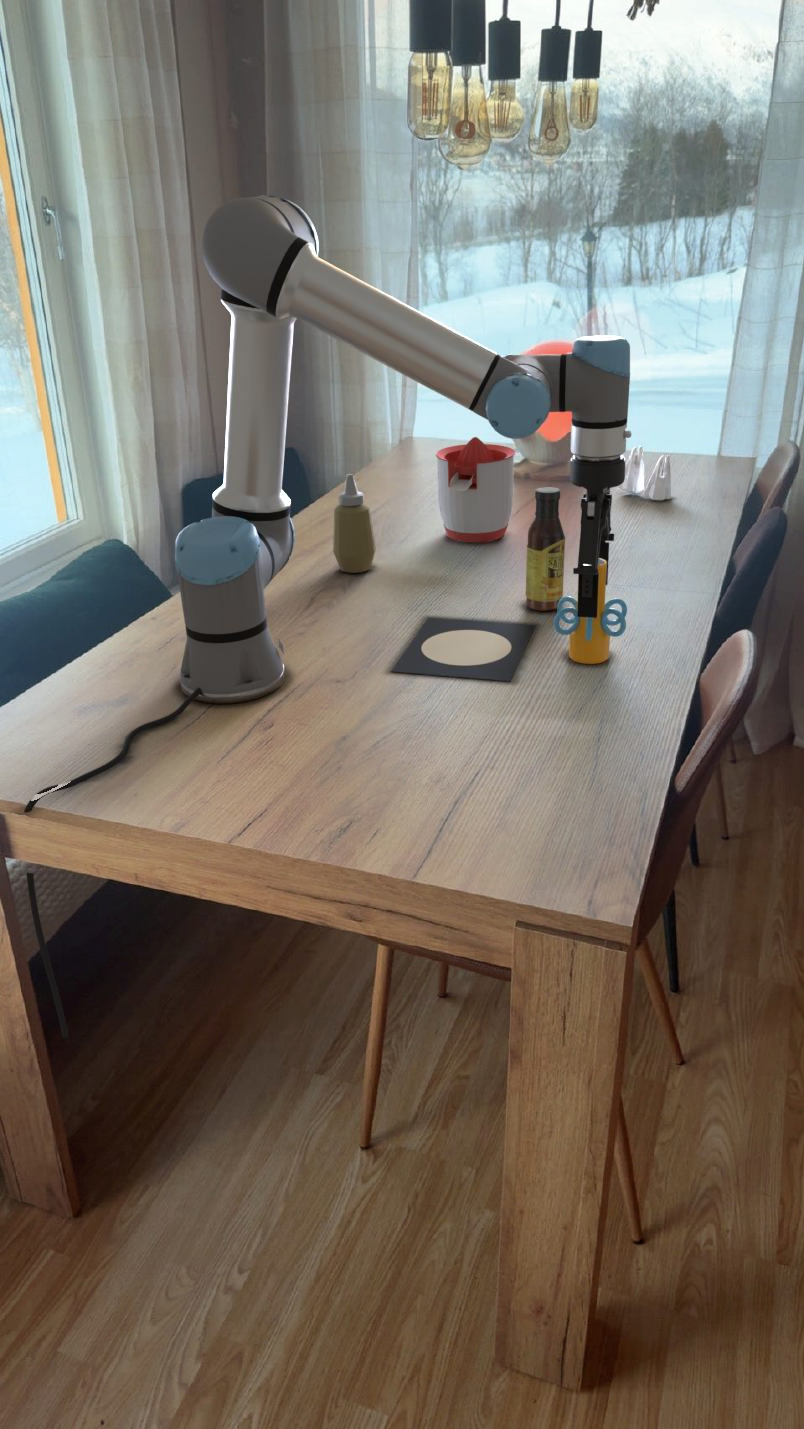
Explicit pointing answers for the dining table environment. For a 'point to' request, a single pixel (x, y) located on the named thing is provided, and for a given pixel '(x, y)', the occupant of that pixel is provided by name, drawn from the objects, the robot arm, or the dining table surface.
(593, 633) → the cylinder
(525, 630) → the mat
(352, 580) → the dining table surface
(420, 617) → the dining table surface
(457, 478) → the citrus juicer
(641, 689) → the dining table surface
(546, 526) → the sauce bottle
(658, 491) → the shaker set
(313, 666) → the dining table surface
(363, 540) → the squeeze bottle
